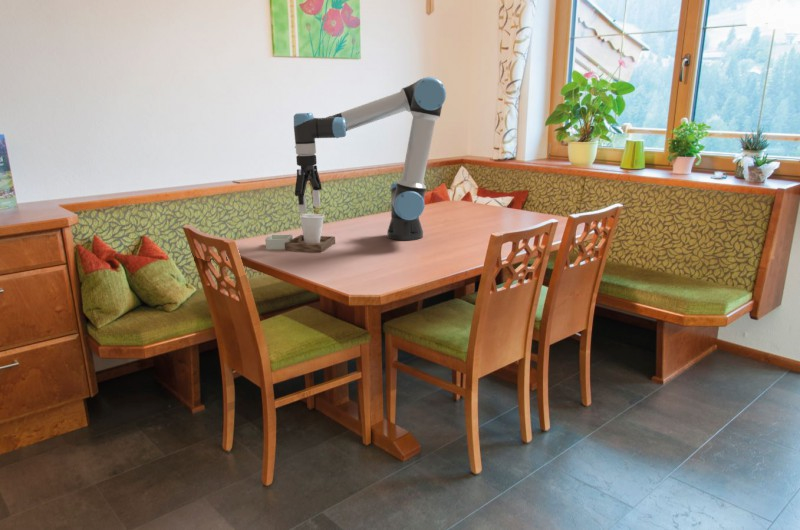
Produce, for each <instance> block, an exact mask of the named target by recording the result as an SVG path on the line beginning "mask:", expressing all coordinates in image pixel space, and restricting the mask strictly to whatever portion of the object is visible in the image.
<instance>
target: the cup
mask: <svg viewBox="0 0 800 530" xmlns="http://www.w3.org/2000/svg"><path fill="white" fill-rule="evenodd" d="M299 218H300V219H299V220H300V223H301V224H300V225H301V230H302V235H303V236H304V242H305V243H306V244H318V243H319V242H320V238H321V236H322V230H323V226H324V225H323V224H324V218H325V215H324V214H320V213H319V214H318V213H301V214H300V215H299Z"/></svg>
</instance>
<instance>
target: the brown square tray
mask: <svg viewBox="0 0 800 530" xmlns="http://www.w3.org/2000/svg"><path fill="white" fill-rule="evenodd" d="M335 244H336V236H332V235H331V236H330V235H321V238H320V242H319V243H318V244H306V243H305V242H304V236H303V234H299V235H298V236H295V237H294V238H293V239H292V240H290V241H289V242H286V243H285V249H284V251H296V252H308V253H309V252H311V253H322V252H324V251H325V250H327V249H328V248H330V247H332V246H334V245H335Z"/></svg>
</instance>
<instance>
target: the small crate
mask: <svg viewBox="0 0 800 530" xmlns="http://www.w3.org/2000/svg"><path fill="white" fill-rule="evenodd" d="M293 237H294V236H293V234H291V233H290V234H289V233H287V234H284V233H282V234H279V233H278V234H275V233H274V234H272V233H271V234H269V235H268V236H267V237H266V238H265V239H264V240H265V241H264V242H265V249H266V250H267V251H268V250H285V243H286V242H289V241H290V240H292V239H294V238H293Z"/></svg>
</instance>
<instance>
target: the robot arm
mask: <svg viewBox="0 0 800 530" xmlns="http://www.w3.org/2000/svg"><path fill="white" fill-rule="evenodd" d="M446 98H447V92H446V88H445V86H444V84H443V82H442V81H440V80H439V79H437V78H435V77H433V76H427V77H423V78H420V79H419V80H417V81H415V82H413V83H412V84H409V85H407V86H405V87H402V88H401V89H400V91H399V92H396V93H392V94H391V95H386V96H385V97H382V98H379V99H375V100H373V101H370V102H367V103H365V104H361V105H359V106H356V107H353V108H350V109H347V110H344V111H342V112H339V113H335V114H333V115H329V116H327V117H315V115H314V113H312V112H301V113H300V112H299V113H297V112H296V113H295V114H294V115H293V132H294V134H293V135H294V141H295V142H294V143H295V144H294V145H295V146H294V148H295V153H296V156H295V157H296V165H297V166H298V167H300V168H298V169H296V178H295V179H296V181H295V188H294V195H295V197H297V202H298V203H297V204H298V214H308V213H307V203H306V202H307V200H306V195H305V193H306V188H307V184H308V182H309V183H310V185H311V187H312V189H313V190H312V206H313V207H315V208H316V207H317V208H318V207H321V198H320V197H321V196H320V191H322V183H321V179H320V175H319V171H318V166H317V155H316V154H317V150H316V149H317V148H316V139H331V138H332V139H339V138H345V137H346V136H347V131H351V130H354V129H356V128H360V127H362V126H366V125H368V124H371V123H374V122H376V121H379V120H382V119H386V118H389V117H392V116H394V115H397V114H400V113H403V112H409V113H410V114H411V115H412V120H411V127H410V132H409V137H408V143H407V149H406V155H405V159H404V164H403V169H402V170H403V171H402V176H401V179H399V180H397V182H392V183H391V185H390V205H391V207H390V210H391V211H390V215H391V219H390V222H389V225H388V228H387V235H386V236H387V238H389V239H392V240H395V241H397V240H398V241H412V240H418V239H421V238H423V237H424V229H423V227H422V224H421V221H420V220H421V219H420V216H422V214H423V212H424V210H425V207H426V206H425V205H426V204H425V198H426V197H425V196H426V191H427V185H425V183H424V182H425V181H424V180H425V175H426V170H427V165H428V159H429V155H430V150H431V144H432V141H433V140H432V139H433V134H434V129H435V123H436V121H437V120H438V119H439V118H441V113H442V108H443V105H444V103H445V101H446Z"/></svg>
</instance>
